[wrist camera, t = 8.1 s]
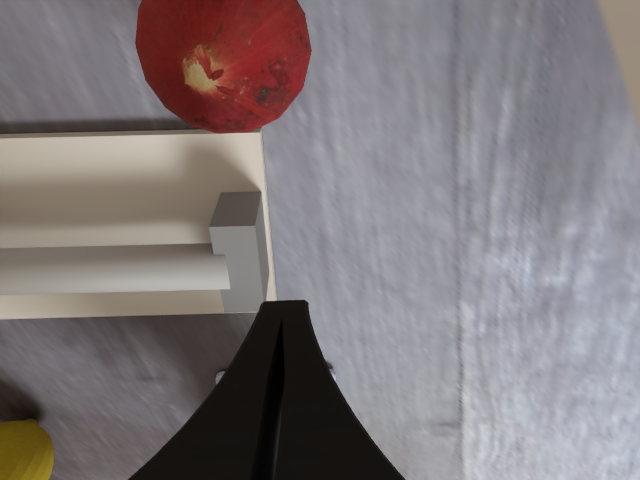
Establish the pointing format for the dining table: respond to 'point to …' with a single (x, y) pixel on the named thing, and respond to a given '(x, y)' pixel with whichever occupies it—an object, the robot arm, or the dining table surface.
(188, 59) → the red pomegranate
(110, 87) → the dining table surface
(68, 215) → the rail
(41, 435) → the lemon
